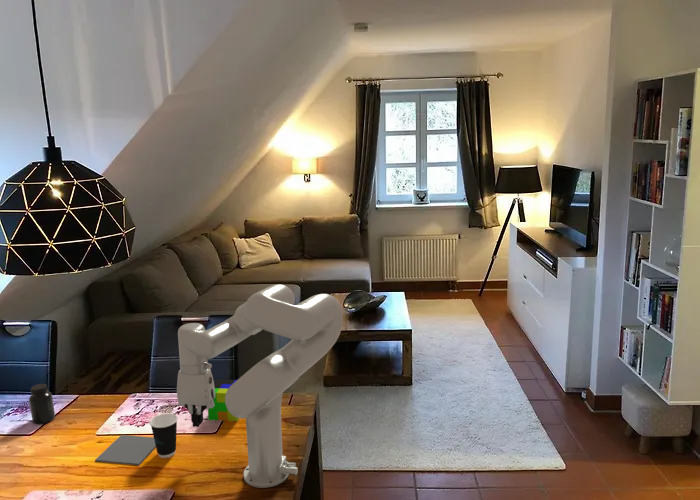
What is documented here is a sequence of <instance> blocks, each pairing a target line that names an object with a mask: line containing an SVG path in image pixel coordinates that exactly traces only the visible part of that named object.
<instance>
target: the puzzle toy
mask: <svg viewBox="0 0 700 500" xmlns="http://www.w3.org/2000/svg"><path fill="white" fill-rule="evenodd" d="M237 380H238V379H220V378H219V379H218V378H217V379H215V380H214V387H215V399H213V401H214V404H215V405H214V407H213V408H210V409H207V415H208V421H225V422H239V420H240V418H237V417H235V416H233V415H232V414H231V413H230V412H229V411H228V409H227V407H226V404H225V396H226V392H227V390H228V389H229V387H230V386H231V385H232V384H233V383H235V382H236V381H237Z"/></svg>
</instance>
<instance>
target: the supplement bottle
mask: <svg viewBox="0 0 700 500" xmlns="http://www.w3.org/2000/svg"><path fill="white" fill-rule="evenodd" d="M30 394H31V395H29V398H28V403H29V408H30V414H31V419H32V422H33V424H35V425H44V424H47V423H50V422H52V421H53V420H54V419H55V417H56V414H55V407H54V400H53V395H52V392H50V391H49V389H48V385H47V384H45V383H40V384H35V385H32V386H31V387H30Z"/></svg>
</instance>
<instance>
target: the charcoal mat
mask: <svg viewBox="0 0 700 500" xmlns="http://www.w3.org/2000/svg"><path fill="white" fill-rule="evenodd" d="M155 449H156V445H155V440H154V436H140V435H139V436H138V435H127V434H121V435H119V437H118V438H116V439H115V440H114V441H113V442H112V443H111V444H110V445H109V446H108V447H107V448H106V449H105V450H104V451H102V452H101V453H100V454H99V455H98V456H97V458H96V459H95V462H97V463H98V462H100V463H108V464H109V463H111V464H121V465H131V466H132V465H133V466H140V465H141V464H142V463H143V462H144V461H145V460H146V459H147V457H149V455H150V454H152V452H153V451H154V450H155Z"/></svg>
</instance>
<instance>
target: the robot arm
mask: <svg viewBox="0 0 700 500" xmlns="http://www.w3.org/2000/svg"><path fill="white" fill-rule="evenodd" d="M295 299H296V298H295V294H294V292H293V290H292V289H291V288H290V287H288V286H287V285H285V284H280V283H279V284H278V283H277V284H276V283H275V284H272V285H270V286H267V287H266V288H263V289H261V290H259V291H257V292H255V293H253V294H252V295H250V297H248V299H247V300H246V302H244V303H243V304H241V305H239V306H238V307H236V310H235V312H234V315H232V316H230V317H229V318H227V319H226V320H224V321H222V322H221V323H219V324H216V325H215V326H214V325H213V326H212V327H211V328H208V329H206V328H205V326H204V325H203V324H202V323H198V322H191V323H184V324H183V325H181V326H180V327H179V328H178V330H177V340H178V352H179V353H178V355H179V368H180V369H179V370H178V373H177V380H176V381H177V382H176V398H177V402H178V403H177V404H178V406H180V407H183V408H185V409H186V411H187V410H188V414H190V419H191V420H190V421H191V423H192V427H193V428H199V427H200V426H201V425H202V424H203V422H204V411H205V410H208V409H210V408H213V407H214V405H215V404H214V401H213V399H215V387H214V382H215V380H214V377H213V374H212V370H211V369H212V367H213V364H212V363H209V360H212V359H214V358H215V357H218V356H220V355H221V354H222V353H224V352H226V351H227V350H229V349H230V348H233V347H235V346H236V345H237V344H240V343H241V342H242V341H245V340H246V339H248V338H249V337H251V336H254V335H257V334H258V333H260V332H262V330H263V331H266V332H270V333H272V334H275V335H277V336H281V337H285V338H287V339H290V341H288V342H287V343H286V344H285V345H284V346H282V347H281V348H280V349H278V350H276V351H274V352H272V353H271V354H269V355H268V356H266V357H264V358H263V359H261V360H260V361H258V362H257V363H256V364H255V365H253V366H252V367H250V369H249V370H247V371H246V372H245V373H244V374H243V375H241V376H240V377H239V378H238V379H236V380H237V381H236V382H235V383H233V384H232V385H231V386H230V387H229V389H228V390H227V392H226V396H225V404H226V407H227V409H228V411H229V412H230V413H231V414H232V415H233V416H235V417H237V418H239V419H245V426H246V430H245V431H246V441H247V442H246V443H247V458H248V461H247V462H248V465H247V466H246V468H244V470H243V480H244V482H245V483H246V484H248V485H249V486H251V487H254V488H261V489H265V488H273V487H276V486H279V485H280V484H282V483H283V482H285V481H286V480H287V478H288V477H289V475H298V473H299V471H298V470H299V469H298V468H299V467H297V466H296V464H297V463H296V462H292V461H291V462H289V461H288V460H287V456H286V455H283V434H282V399H283V392H285V391H286V390H287V389H289V388H290V387H291V386H292V385H294V383H295V382H297V381H298V379H299V378H300V377H301V376H302V375H304V373H305V372H307V371H308V370H309V369H310V368H311V367H313V366H314V365H315V364H317V363H318V361H320V360H321V359H323V357H324V356H325V355H326V354H327V353H328V352H330V350H331V349H332V347H333V346H334V345H335V344H336V343H337V340H338V339H339V337H340V336H341V335H340V334H341V331H342V329H343V324H344V323H343V321H344V317H343V310H342V307H341V304H340V302H339V300H338V299H337V298H336V297H335V296H333V295H331V294H328V293H319V294H315V295H312V296H310V297H309V298H307V299H305V300H303V301H301V302H298V303H297V304H296V305H295V301H296V300H295Z"/></svg>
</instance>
